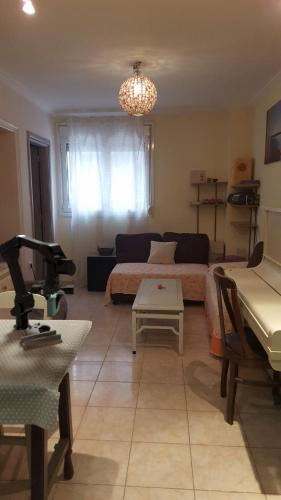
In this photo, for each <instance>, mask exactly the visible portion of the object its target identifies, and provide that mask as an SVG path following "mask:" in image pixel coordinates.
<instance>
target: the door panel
mask: <svg viewBox="0 0 281 500" xmlns="http://www.w3.org/2000/svg"><path fill="white" fill-rule="evenodd" d="M57 294H58V293H57V292H55V294H54V295H51V297H50V298H49V299H48V300H47V301H46V317H47V318H54V316H55V315H56V314H57V313H58V311H59V310H60V309H61V302H60V303H59V306H58V309H56V295H57Z"/></svg>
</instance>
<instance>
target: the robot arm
mask: <svg viewBox="0 0 281 500" xmlns="http://www.w3.org/2000/svg"><path fill="white" fill-rule="evenodd" d="M22 248H26V249H27V248H28V249H31V250H33V251H36V252H38V253H39V254H40V256H42V257H44V258H43V259H42V260H41V263H45V277H44V283H43V284H33V285H32V286H31V287H29V291H28V290H27V287H26V283H25V280H24V276H23V273H22V268H21V266H20V262H19V259H20V256H21V252H20V250H21V249H22ZM0 257H1V259H2V260H3V261H4V262H5V264H7V268H8V270H9V271H8V272H9V275H10V278H11V282H12V286H13V289H14V299H13V304H14V305H13V307H12V308H11V309H10V315H11V316H12V317H15V324H13V327H14V328H15V329H16V331H18V330H19V331H20V330H26V329H27V328H29V327H30V326H32V324H30V321H29V319H30V318H29V314H31V313H33V311H34V308H35V302H36V300H35V299H34V298H35V297H34V295H38V293H39V292H40V296H42V297H43V298H45V301H46V302H47V300H48V299H49V298H50V297H51V296H52V295H54V294H55V293H58V294H57V295H56V309H58V306H59V303H60V304H61V300H62V298H63V296H65V295H69V296H72V295H74V294H75V293H76V292H77V286H76V285H74V284H67V285H66V286H61V280H60V279H61V276H69V277H72V276H74V275H75V274H76V272H77V266H76V264H75V262H73V260H74V259H71V258H67V256H66V254H65V252H64V250H63V249H62V246H61V245H60V244H59V243H56V242H43V241H40V240H37V239H36V238H33V237H29V236H26V235H24V234H19V235H18V234H17V235H15V236H13V237H12V238H10V239H9V240H7V241H5V242H4V243H1V244H0Z"/></svg>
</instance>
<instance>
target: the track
mask: <svg viewBox="0 0 281 500" xmlns="http://www.w3.org/2000/svg"><path fill="white" fill-rule="evenodd" d="M19 339H20V340H19V341H18V342H19V344H20V345H21V346H22V347H23V348H24V350H25V349H26V350H25V351H29V349H30V350H33V349H38V348H42V347H46V346H52V345H56V344H60V343H63V342H64V340H63V338H62V333H58V334H57V330H56V329H54V330H49V331H45V332H40V333H39V334H34V335H29V336H28V335H25V336H21V337H20V338H19Z"/></svg>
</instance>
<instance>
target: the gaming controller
mask: <svg viewBox="0 0 281 500" xmlns="http://www.w3.org/2000/svg"><path fill="white" fill-rule="evenodd" d="M40 331H45V332H48V331H51V326H50V325H49V324H47V323H40V322H37V323H32V324H31V326H30V327H29V328H25V332H26V335H25V336H29V335H34V334H39V333H41V332H40Z"/></svg>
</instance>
